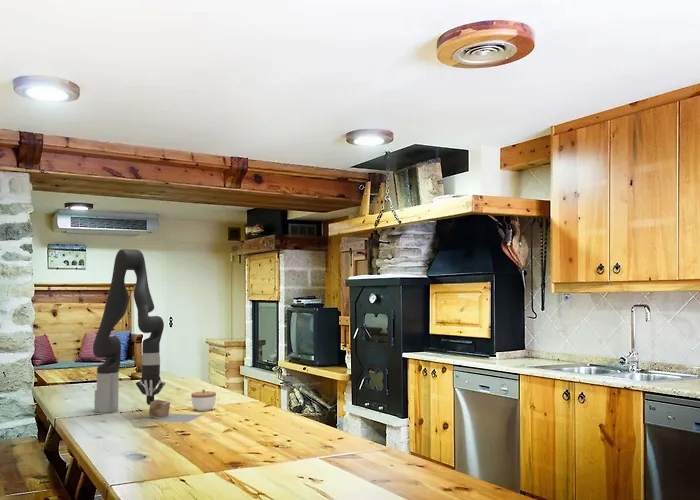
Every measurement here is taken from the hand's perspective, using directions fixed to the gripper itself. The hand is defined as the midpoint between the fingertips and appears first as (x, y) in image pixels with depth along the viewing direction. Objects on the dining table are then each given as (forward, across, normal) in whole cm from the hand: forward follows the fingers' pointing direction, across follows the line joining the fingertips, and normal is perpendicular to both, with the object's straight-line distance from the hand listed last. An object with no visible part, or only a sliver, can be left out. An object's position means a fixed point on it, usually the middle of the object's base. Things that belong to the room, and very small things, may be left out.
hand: (150, 404), depth 277 cm
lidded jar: (+6, +16, +19) cm, 25 cm away
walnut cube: (+5, +4, 0) cm, 6 cm away
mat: (+6, +10, 0) cm, 11 cm away
